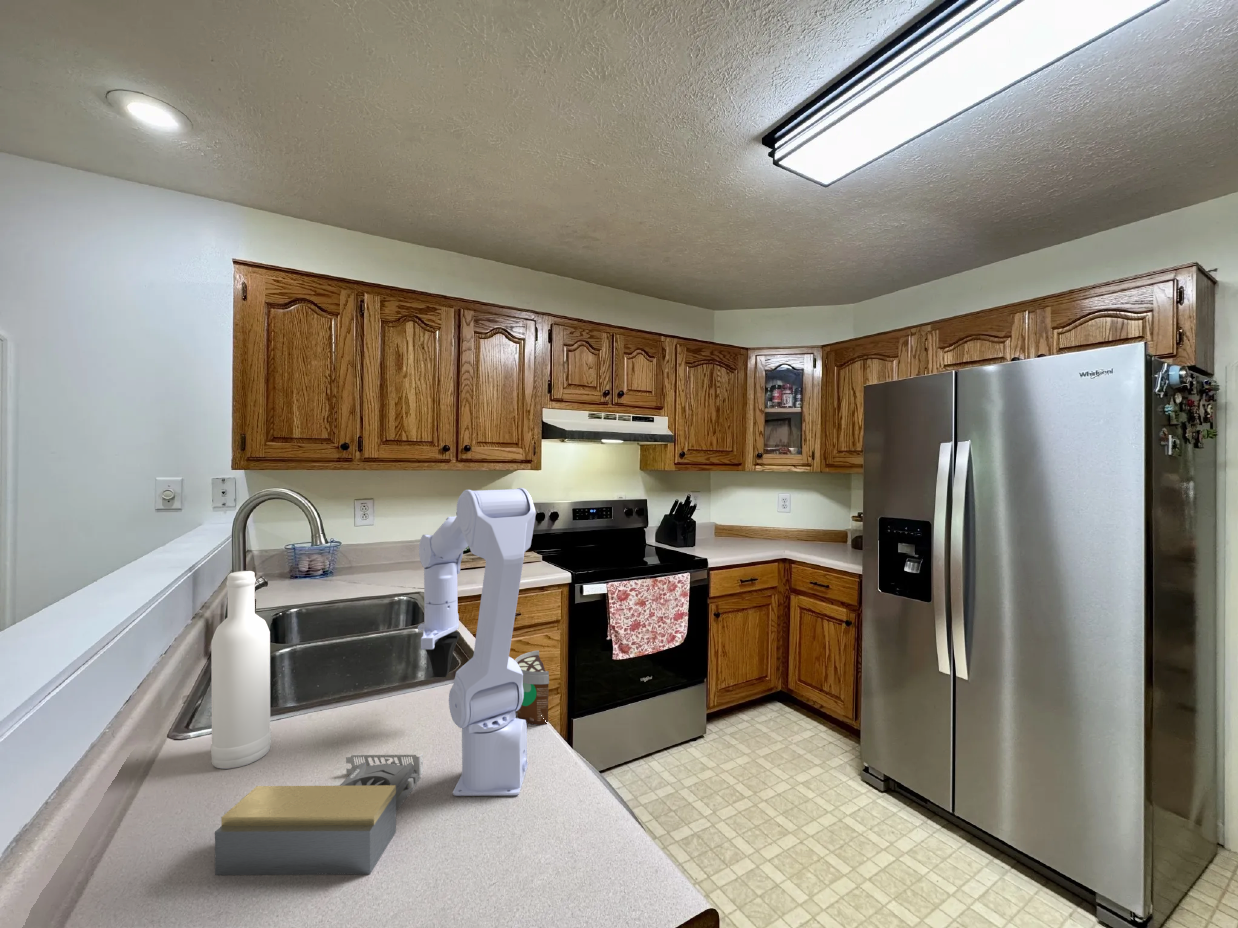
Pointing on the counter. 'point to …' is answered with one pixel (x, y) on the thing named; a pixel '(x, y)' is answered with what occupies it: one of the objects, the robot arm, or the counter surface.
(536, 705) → the food container
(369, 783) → the graphics card
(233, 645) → the bottle
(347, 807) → the grey flat box
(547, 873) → the counter surface
